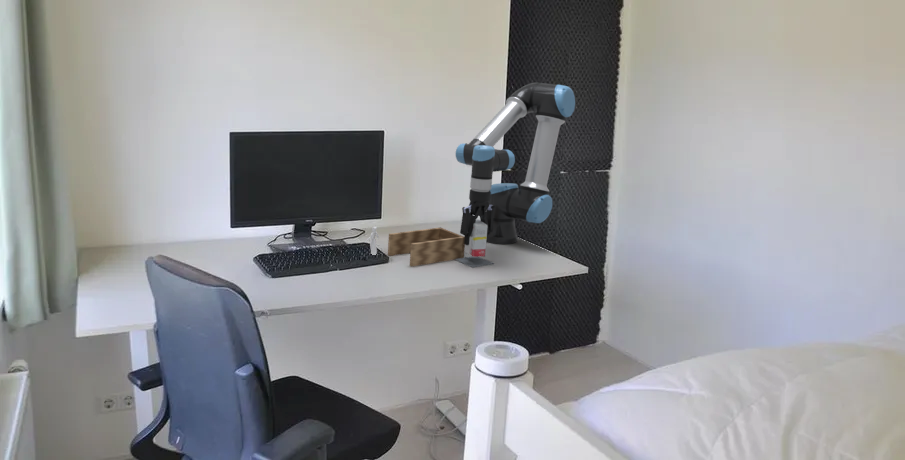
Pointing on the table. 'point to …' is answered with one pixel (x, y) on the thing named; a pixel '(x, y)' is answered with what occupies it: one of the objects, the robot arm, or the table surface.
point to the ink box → (478, 238)
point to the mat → (474, 261)
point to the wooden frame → (427, 245)
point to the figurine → (373, 241)
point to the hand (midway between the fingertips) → (474, 252)
